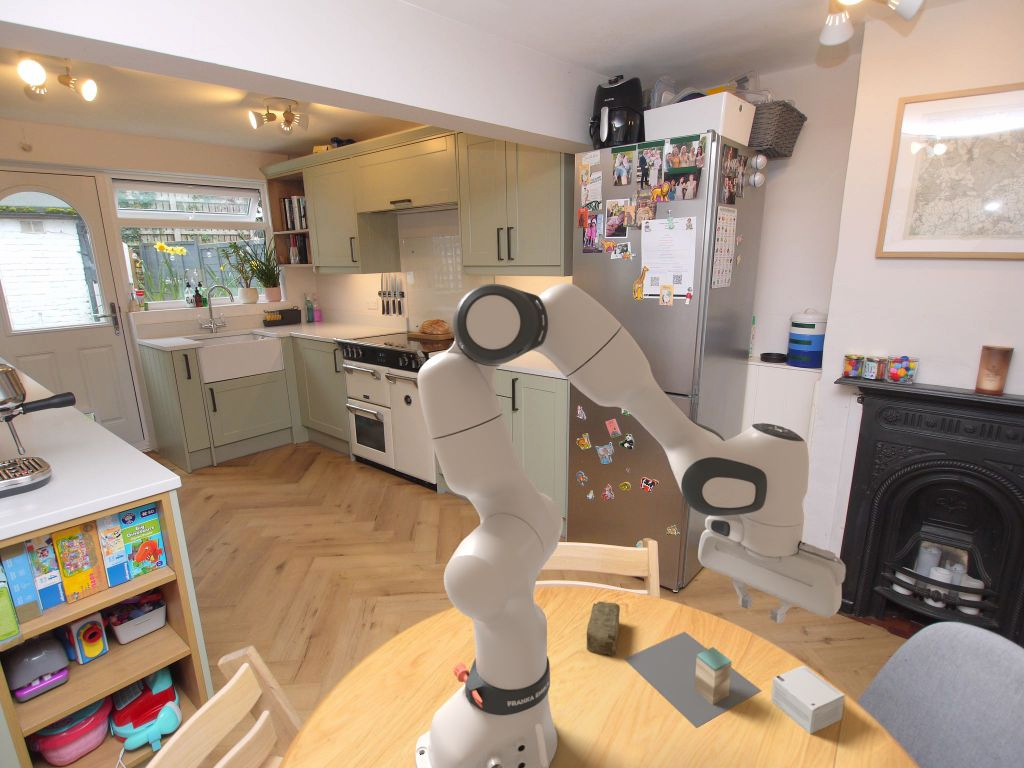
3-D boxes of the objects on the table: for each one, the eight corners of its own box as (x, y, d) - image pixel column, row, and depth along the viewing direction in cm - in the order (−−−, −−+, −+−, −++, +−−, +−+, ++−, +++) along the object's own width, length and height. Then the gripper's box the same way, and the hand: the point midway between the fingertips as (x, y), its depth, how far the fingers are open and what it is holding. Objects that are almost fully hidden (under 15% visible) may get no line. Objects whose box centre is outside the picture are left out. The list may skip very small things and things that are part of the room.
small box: (843, 721, 87) (846, 695, 86) (809, 738, 84) (812, 710, 83) (801, 688, 94) (804, 663, 93) (769, 702, 91) (771, 676, 90)
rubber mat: (696, 729, 86) (696, 727, 86) (623, 660, 102) (623, 658, 101) (761, 692, 93) (761, 690, 93) (684, 633, 109) (684, 631, 109)
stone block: (620, 622, 113) (620, 601, 112) (615, 660, 102) (616, 637, 101) (592, 618, 114) (593, 597, 113) (585, 655, 104) (585, 632, 102)
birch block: (712, 704, 90) (715, 669, 89) (694, 689, 94) (696, 654, 92) (728, 695, 92) (731, 661, 91) (710, 680, 96) (712, 646, 94)
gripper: (854, 549, 74) (843, 636, 76) (714, 503, 88) (709, 578, 91) (839, 566, 69) (828, 657, 72) (695, 515, 84) (690, 593, 87)
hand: (760, 613), depth 82 cm, fingers open, 3 cm apart
